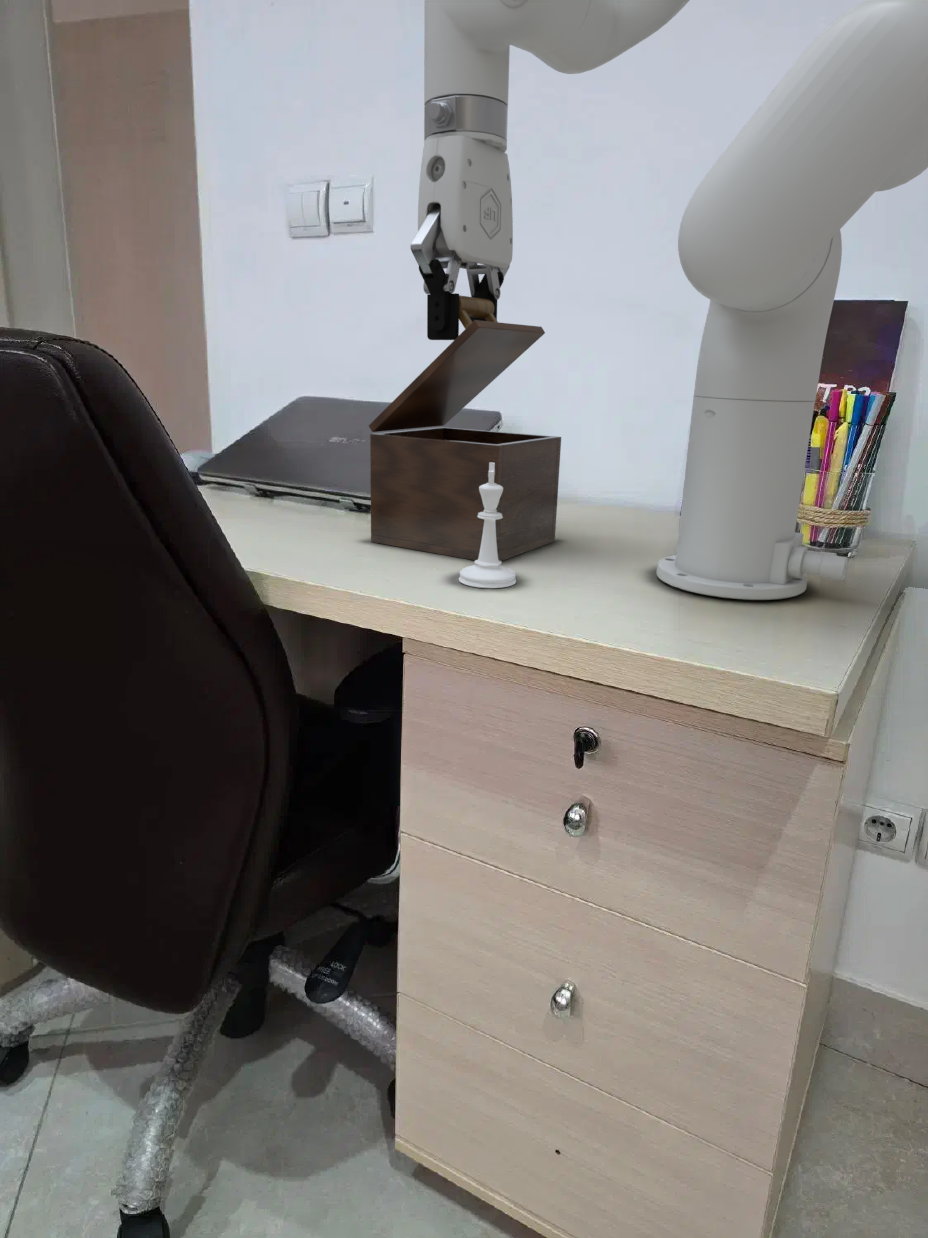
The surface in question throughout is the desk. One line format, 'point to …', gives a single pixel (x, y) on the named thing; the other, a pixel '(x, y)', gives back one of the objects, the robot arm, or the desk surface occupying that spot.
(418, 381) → the lid
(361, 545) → the desk surface
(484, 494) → the chess piece
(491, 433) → the box
